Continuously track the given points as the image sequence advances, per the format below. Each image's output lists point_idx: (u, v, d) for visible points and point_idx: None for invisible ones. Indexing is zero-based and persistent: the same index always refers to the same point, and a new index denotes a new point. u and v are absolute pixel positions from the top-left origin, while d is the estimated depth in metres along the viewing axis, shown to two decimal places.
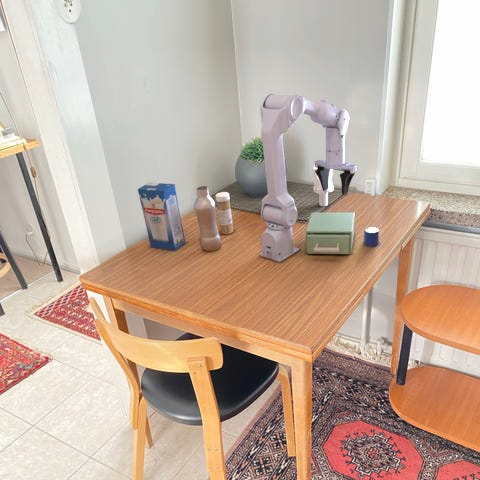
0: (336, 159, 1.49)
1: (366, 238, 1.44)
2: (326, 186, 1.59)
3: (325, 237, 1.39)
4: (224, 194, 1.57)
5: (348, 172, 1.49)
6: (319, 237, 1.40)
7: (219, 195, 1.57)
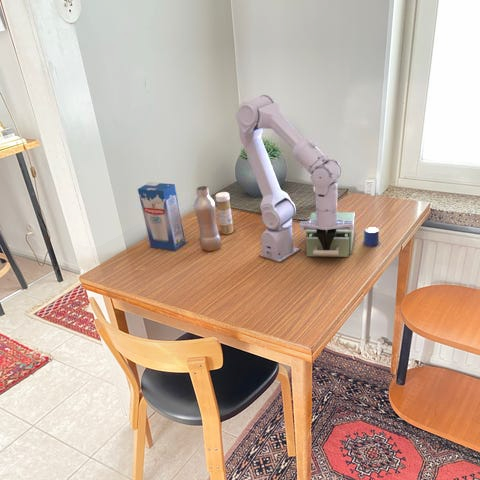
0: (332, 218, 1.29)
1: (366, 238, 1.44)
2: None
3: None
4: (224, 194, 1.57)
5: (334, 230, 1.32)
6: (318, 240, 1.38)
7: (219, 195, 1.57)
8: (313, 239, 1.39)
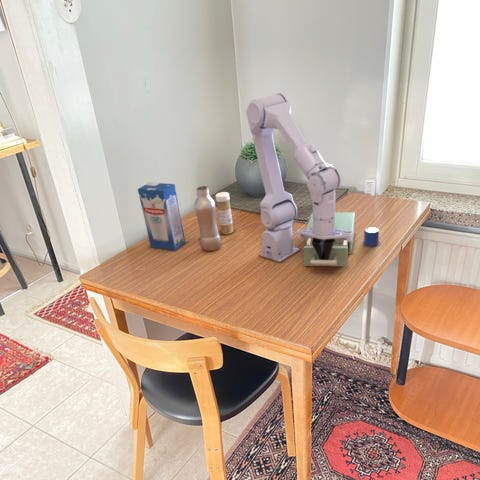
0: (329, 227, 1.25)
1: (366, 238, 1.44)
2: (323, 258, 1.33)
3: None
4: (224, 194, 1.57)
5: (332, 240, 1.28)
6: None
7: (219, 195, 1.57)
8: (310, 248, 1.34)
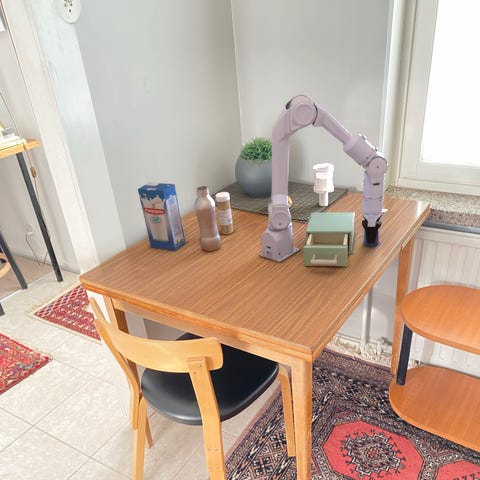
0: (365, 205, 1.38)
1: None
2: None
3: (322, 248, 1.33)
4: (224, 194, 1.57)
5: None
6: (316, 248, 1.34)
7: (219, 195, 1.57)
8: (310, 248, 1.34)
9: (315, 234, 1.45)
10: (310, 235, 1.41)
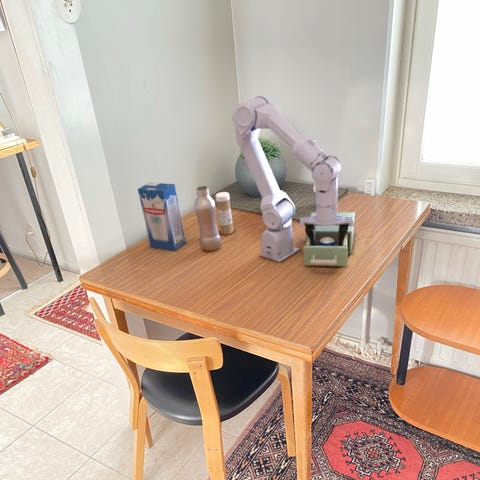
0: (333, 214, 1.30)
1: None
2: (315, 244, 1.39)
3: (322, 248, 1.33)
4: (224, 194, 1.57)
5: (346, 226, 1.32)
6: (316, 248, 1.34)
7: (219, 195, 1.57)
8: (310, 248, 1.34)
9: None
10: None
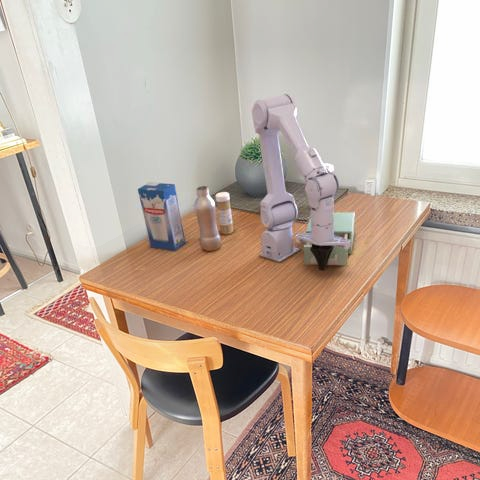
0: (326, 234, 1.22)
1: None
2: None
3: None
4: (224, 194, 1.57)
5: (329, 246, 1.25)
6: None
7: (219, 195, 1.57)
8: None
9: None
10: None
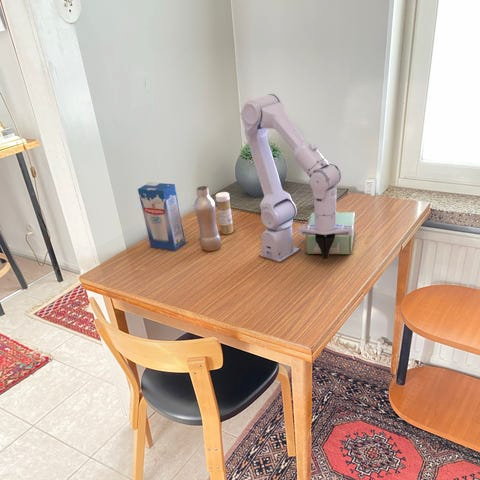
0: (331, 223, 1.28)
1: None
2: None
3: None
4: (224, 194, 1.57)
5: (333, 234, 1.31)
6: None
7: (219, 195, 1.57)
8: (314, 237, 1.40)
9: None
10: None
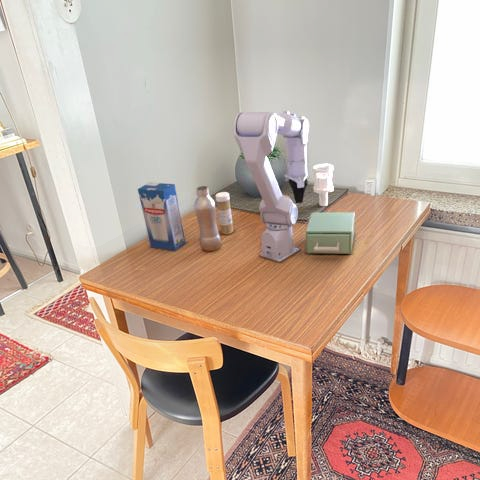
0: None
1: None
2: None
3: (325, 236, 1.40)
4: (224, 194, 1.57)
5: None
6: (319, 236, 1.40)
7: (219, 195, 1.57)
8: (314, 236, 1.40)
9: None
10: None
